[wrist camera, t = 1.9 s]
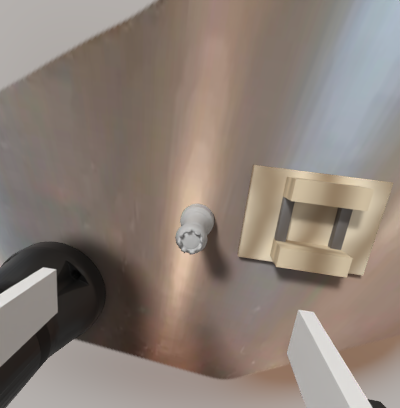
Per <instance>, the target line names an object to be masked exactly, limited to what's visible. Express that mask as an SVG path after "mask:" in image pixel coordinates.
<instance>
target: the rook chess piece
mask: <svg viewBox="0 0 400 408" xmlns="http://www.w3.org/2000/svg"><path fill="white" fill-rule="evenodd" d="M180 223H181V227H180V228H179V230H178V231H177V233H176V237H175V238H176V243H177V245H178V246H179V248H180V249H181V251H183V252H184V253H185V252H187V253H190V254H195V253H198V252H200V251H202V250H203V249H204V247H205V246H206V244H207V235H208V234H209V233H210V231H211V230H212V228H213V225H214V215H213V213H212V212H211V210H210V209H209V208H208V207H206V206H205V205H201V204H192V205H190V206H188V207H187V208H186V209H185V210H184V211H183V213H182V215H181V220H180Z"/></svg>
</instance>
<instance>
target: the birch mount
mask: <svg viewBox="0 0 400 408" xmlns="http://www.w3.org/2000/svg"><path fill="white" fill-rule="evenodd" d="M392 186H393V183H391V182H384V181H376V180H368V179H360V178H352V177H344V176H337V175H329V174H321V173H313V172H305V171H297V170H289V169H282V168H274V167H266V166H258V165H253V169H252V175H251V180H250V186H249V192H248V197H247V203H246V209H245V214H244V220H243V226H242V231H241V237H240V242H239V248H238V257H245V258H251V259H258V260H264V261H271V262H274V264H275V265H276V267H281V268H287V269H294V270H300V271H307V272H313V273H320V274H326V275H333V276H339V277H346V278H347V275H348V273H350V274H357V275H363V274H364V271H365V268H366V265H367V261H368V258H369V255H370V252H371V249H372V246H373V243H374V240H375V237H376V234H377V231H378V228H379V225H380V222H381V219H382V216H383V213H384V210H385V207H386V204H387V201H388V198H389V195H390V192H391V189H392Z"/></svg>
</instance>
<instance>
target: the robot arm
mask: <svg viewBox="0 0 400 408" xmlns="http://www.w3.org/2000/svg"><path fill="white" fill-rule="evenodd" d="M104 303H105V286H104V282H103V279H102V277H101V275H100V273H99V271H98V269H97V268H96V266H95V265H94V264H93V263H92V262H91V260H90V259H89V258H88V257H86V256H85V255H84V254H83V253H81V252H80V251H78V250H77V249H75V248H73V247H71V246H68V245H65V244H62V243H58V242H40V243H36V244H33V245H31V246H29V247H27V248H25V249H23V250H20V251H18V252H17V253H15V254H13V255H12V256H11V257H10V258H8V259H7V260H6V261H5V262H4V263H3V265H2V266H1V267H0V408H6V407H7V406H8V404H9V403H10V402H11V401H12V400H13V399H14V397H15V396H16V395H17V394H18V393H19V392H20V390H21V389H22V388H23V387H24V386H25V385H26V383H27V382H28V381H29V380H30V378H31V377H32V376H33V375H34V374H35V373H36V371H37V370H38V369H39V368H40V367H41V366H42V364H43V363H44V362H45V361H46V360H47V359H48V358H49V357H50V356H51V355H52V354H54V353H55V352H57V351H58V350H59V349H61V348H62V347H64V346H65V345H66V344H67V343H69V342H70V341H72V340H73V339H75V338H77V337H78V336H80V335H81V334H83V333H84V332H85V331H86V330H87V329H88V328H89V327H90V326H91V325H92V324H93V323H94V321H95V320H96V319H97V317H98V316H99V315H100V313H101V311H102V309H103V307H104ZM287 355H288V358H289V361H290V363H291V366H292V369H293V372H294V375H295V378H296V380H297V383H298V386H299V389H300V392H301V395H302V398H303V400H304V403H305V406H306V408H386V407H385V406H384V405H383V404H382V403H381V402H379V401H374V400H369V399H367V398H366V396H365V395H364V393H363V391H362V390H361V388H360V386H359V385H358V383H357V382H356V380H355V378H354V377H353V375H352V374H351V372H350V370H349V369H348V367H347V365H346V364H345V362H344V361H343V359H342V357H341V356H340V354H339V352H338V351H337V349H336V348H335V346H334V344H333V343H332V341H331V340H330V338H329V336H328V335H327V333H326V331H325V330H324V328H323V327H322V325H321V323H320V322H319V320H318V318H317V317H316V315H315V314H314V312H310V311H304V310H298V313H297V317H296V321H295V324H294V328H293V332H292V336H291V339H290V343H289V347H288V351H287Z"/></svg>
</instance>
